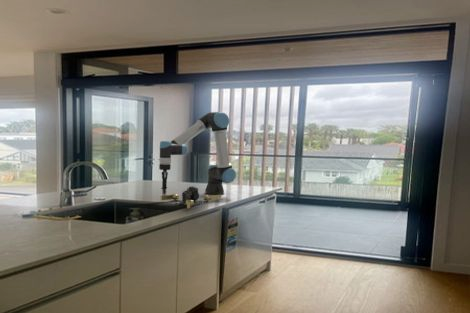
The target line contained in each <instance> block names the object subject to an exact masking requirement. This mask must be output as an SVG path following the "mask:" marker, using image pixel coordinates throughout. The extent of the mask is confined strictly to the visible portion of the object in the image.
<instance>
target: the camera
mask: <svg viewBox="0 0 470 313" xmlns="http://www.w3.org/2000/svg"><path fill="white" fill-rule="evenodd" d="M181 196H182V197H181V200H182V201H183V202H186V200H188V199H190V200H194V201H195V200H199V198H200V193H199V188H197V187H195V186H192V185H191V186H189V187H187V188H186V190H184V191H182V192H181Z"/></svg>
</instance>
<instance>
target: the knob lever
mask: <svg viewBox="0 0 470 313" xmlns="http://www.w3.org/2000/svg"><path fill="white" fill-rule="evenodd" d="M179 197H180V196H179V193H172V194H166V195H162V194H161V195H160V201H169V200H180V198H179Z"/></svg>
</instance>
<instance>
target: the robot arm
mask: <svg viewBox="0 0 470 313" xmlns="http://www.w3.org/2000/svg"><path fill="white" fill-rule="evenodd" d="M229 124H230V118H229V115H228V114H227V113H225V112H220V111H215V112H214V111H213V112H208V113H205V114H204V115H203V116H202V117H200V118H199V119H197V120H196V122H195V123H193V125H192V126H190V127H189V128H187V129H186V130H185V131H183V132H182V133H181V134H179V135H178V136H176V137H175V138H174V139H172V140H171V141H169V140H161V141H160V143H159V158H158V161H159V164H158V165H159V167H158V168H159V169H158V170H161V171H162V172H161V180H162V182H161V183H162V185H161V186H162V187H161V188H160V189H161V196H162V195H167V189H168V186H167V181H168V175H169V173H168V171H170V170H171V164H172V163H171V162H172V159H171V158H172V156H185V155H187V153H188V147H187V145H186V144H187V143H188V142H189V141H190V140H192V139H193V138H195V137H197V136H198V135H199V134H201V133H202V132H203V131H204V132H205V131H206V130H208V129H211V132H212V133H213V134H214V141H215V148H216V157H217V164H210V165H208V167H207V184H206V187H205V189H204V190H205V191H204V193H205V195H220V194H221V195H224V194H225V190H224V186H223V184H232V183H233V182H234V180H235V179H236V177H237V171H236V170H235V169H234V168H233V164H232V163H231V162H230V157H229V149H228V140H227V139H228V138H227V133H226V132H227V130H228V126H229Z"/></svg>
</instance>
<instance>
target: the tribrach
mask: <svg viewBox="0 0 470 313" xmlns="http://www.w3.org/2000/svg"><path fill="white" fill-rule="evenodd" d="M222 195H223V194H222ZM222 195H221V194H220V195H210V194H204V195H203V200H201V199H198V200H195V201H194V200H190V199H188V200H186V202H183V201H182V199H176V200H175V201H174V202H175V203H174V205H175V206H186V209H190V208H191V207H192V205H195V206H201V205H203V203H209V201H211V200H214V201H215V200H222V199H223V198H222V197H223V196H222ZM177 201H179V202H177ZM202 202H203V203H202ZM200 204H201V205H200Z"/></svg>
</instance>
